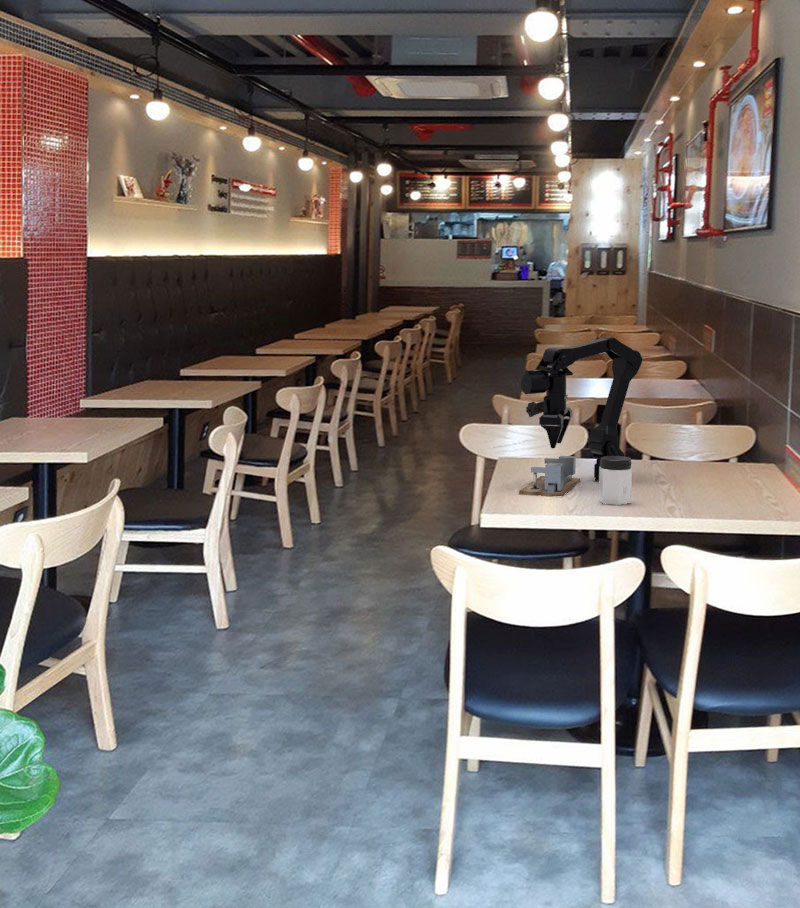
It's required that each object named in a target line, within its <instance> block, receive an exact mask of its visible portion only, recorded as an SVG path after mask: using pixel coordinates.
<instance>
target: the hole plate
mask: <svg viewBox="0 0 800 908" xmlns="http://www.w3.org/2000/svg"><path fill="white" fill-rule="evenodd" d="M577 483H578V484H579V483H581V478H580V477H572V480H570V481H569V482H568V483H567V484H565V485H564V488H563V489H562V490H561V491H556V492H555V493H547V490H545V475H540V476H537V488H533V480H532V481H531V482H529V483H527V484H526V485H525V486H524V487H522V488H521V489H520V490H518V495H524V496H538V495H541V496H540V497H553V496H562V497H563V496H565V495H566V494H567V493H568V492H569V490H570V489H571V488H572V487H573V488H575V487H576V486H577V485H578V484H577ZM576 484H577V485H576ZM575 485H576V486H575ZM573 488H572V489H573ZM572 489H571V490H572ZM571 490H570V491H571ZM566 492H567V493H566ZM565 493H566V494H565ZM564 494H565V495H564Z"/></svg>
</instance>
